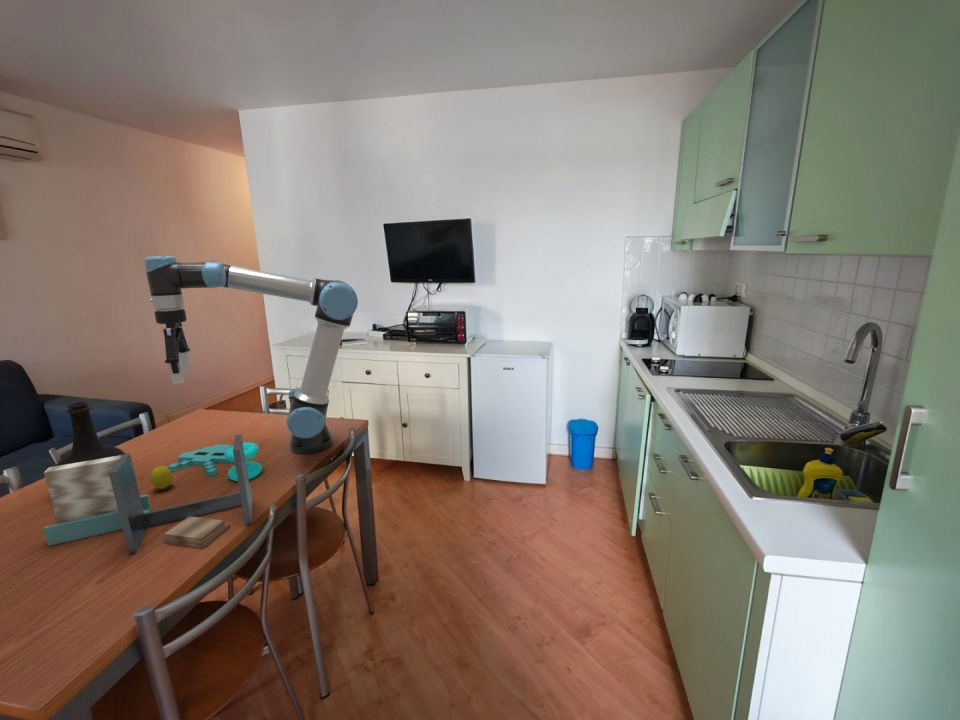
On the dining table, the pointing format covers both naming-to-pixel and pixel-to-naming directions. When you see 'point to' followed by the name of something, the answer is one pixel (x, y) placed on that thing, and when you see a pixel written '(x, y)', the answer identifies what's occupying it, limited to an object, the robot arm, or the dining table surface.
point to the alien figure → (203, 459)
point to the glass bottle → (85, 438)
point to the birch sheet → (82, 489)
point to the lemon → (161, 477)
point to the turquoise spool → (252, 466)
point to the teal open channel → (87, 526)
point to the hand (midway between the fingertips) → (182, 377)
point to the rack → (138, 521)
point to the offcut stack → (196, 532)
